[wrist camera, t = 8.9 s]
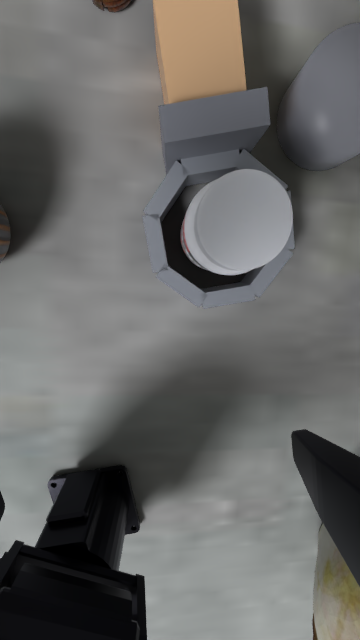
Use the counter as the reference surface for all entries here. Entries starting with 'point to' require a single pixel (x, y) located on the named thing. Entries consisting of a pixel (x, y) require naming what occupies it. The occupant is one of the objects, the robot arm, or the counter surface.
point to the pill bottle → (237, 223)
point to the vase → (4, 233)
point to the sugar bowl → (334, 594)
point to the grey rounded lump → (324, 104)
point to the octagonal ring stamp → (205, 129)
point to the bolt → (111, 4)
